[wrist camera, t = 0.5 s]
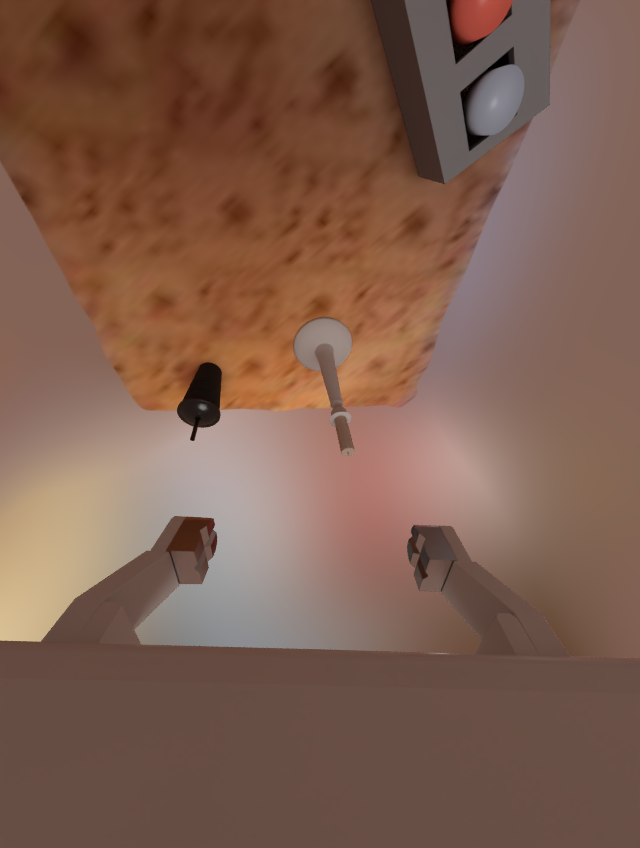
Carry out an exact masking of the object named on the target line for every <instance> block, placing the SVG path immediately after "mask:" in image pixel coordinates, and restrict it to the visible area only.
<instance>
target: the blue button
mask: <svg viewBox="0 0 640 848" xmlns="http://www.w3.org/2000/svg"><path fill="white" fill-rule="evenodd" d="M523 93H524V76H523V73H522V71H521V69H520V68H519V67H518V66H516V65H506V66H502V67H499V68H496V69H492V70H489V71H486V72H484V73H482V74H481V75H480V76H478V77H477V78H476V79H475V81H474V82H473V83H472V84H471V86H470V88H469V89H468V91H467V93H466V95H465V98H464V101H463V104H462V109H463V115H464V122H465V128H466V133H467V134H469V135H494V134H497V133H499V132H500V131H502V130H503V129H504V128H505V127H506V126H507V125H508V124H509V123H510V122H511V120H512V119H513V118H514V116H515V114H516V113H517V111H518V109H519V106H520V104H521V101H522V97H523Z"/></svg>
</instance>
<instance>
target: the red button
mask: <svg viewBox="0 0 640 848" xmlns="http://www.w3.org/2000/svg"><path fill="white" fill-rule="evenodd" d="M512 2H513V0H447V4H446V5H447V12H448V18H449V25H450V31H451V37H452V42H453V43H454V44H456V45H458V46H465V45H468V44H470V43H472V42H474V41H476V40H478V39H481V38H483V37H485V36H487V35H489V34H490V33H492V32H493V31H494V30H495V29H496V28H497V27H498V26H499V25H500V23H501V22H502V21H503V19H504V18H505V16H506V14H507V13H508V11H509V9H510V7H511V4H512Z"/></svg>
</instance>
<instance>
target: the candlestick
mask: <svg viewBox="0 0 640 848" xmlns="http://www.w3.org/2000/svg"><path fill="white" fill-rule="evenodd" d="M351 348H352V338H351V334H350V332H349V330H348V328H347V327H346V326H345V325H344V324H343V323H342V322H340V321H338V320H336V319H333V318H329V317H321V318H316V319H313V320H311V321H309V322H307V323H306V324H304V325H303V326H302V327H301V328H300V329H299V331H298V332H297V334H296V336H295V339H294V352H295V355H296V358H297V359H298V361H299V362H300V363H301V364H302V365H303V366H305V367H306V368H308V369H311V370H314V371H321V372H322V376H323V379H324V382H325V386H326V389H327V393H328V396H329V400H330V403H331V407H332V408H333V410H332V412H331V417H330V420H329V421H330V424H331V425H332V426H335V427H336V431H337V435H338V440H339V444H340V449H341V454H342V455H344V456H350V455H352V454H353V453H354V452H355V450H354V446H353V442H352V438H351V434H350V431H349V427H348V423H349V422H350V421H351V415H350V414H349V413H347V411H346V409H345V408H343V407H342V405H343V402H342V399H341V393H340V388H339V382H338V377H337V371H336V367H338V366H339V365H341V364H342V363H343V362H344V361H345V360H346V359H347V357H348V356H349V354H350V351H351Z"/></svg>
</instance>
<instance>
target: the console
mask: <svg viewBox="0 0 640 848" xmlns="http://www.w3.org/2000/svg"><path fill="white" fill-rule="evenodd" d="M371 2H372V5H373V9H374V13H375V16H376V20H377V24H378V28H379V31H380V35H381V39H382V42H383V46H384V50H385V53H386V57H387V61H388V64H389V68H390V72H391V75H392V79H393V83H394V87H395V90H396V94H397V98H398V101H399V105H400V109H401V112H402V116H403V120H404V123H405V127H406V131H407V134H408V138H409V142H410V145H411V149H412V153H413V157H414V160H415V164H416V168H417V171H418V175H419V177H422V178H425V179H429V180H432V181H436V182H439V183H443V184H446V183H447V182H448V181H450V180H451V179H452V178H453V177H455V176H456V175H457V174H459V173H460V172H461V171H463V170H464V169H465V168H467V167H468V166H469V165H471V164H472V163H473V162H475V161H476V160H477V159H479V158H480V157H481V156H483V155H484V154H485V153H487V152H488V151H489V150H491V149H492V148H493V147H495V146H496V145H497V144H498V143H500V142H501V141H502V140H504V139H505V138H506V137H508V136H509V135H510V134H512V133H513V132H514V131H516V130H517V129H518V128H520V127H521V126H522V125H524V124H525V123H526V122H528V121H529V120H530V119H532V118H533V117H534V116H536V115H537V114H538V113H539V112H541V111H542V110H544V109H545V108H546V107H547V106H549V105H550V104H549V101H550V100H549V99H550V2H551V0H513V2H512V4H511V7H510V9H509V11H508V13H507V14H506V16H505V18H504V19H503V21H502V22H501V23H500V25H499V26H498V27H497V28H496V29H495V30H494V31H493V32H492V33H490V34H489V35H487V36H485V37H484V38H483V39H482V40H480V41H479V42H478V43H477V44H476V45H475V46H474V47H473V48H471V49H470V50H469V51H468V52H467V53H466V54H465V55H464V56H463V57H461V58H460V59H459V60H458V61H457V62H456V63H455V57H454V50H453V44H452V37H451V31H450V25H449V18H448V12H447V5H446V0H371ZM492 64H493V69H496V68H499V67H502V66H506V65H516V66H518V67H519V68H520V69H521V71H522V73H523V76H524V93H523V97H522V101H521V104H520V106H519V109H518V111H517V113H516V114H515V116H514V118H513V119H512V120H511V122H510V123H509V124H508V125H507V126H506V127H505V128H504V129H503V130H502V131H500V132H499V133H497V134H494V135H469V134H467V133H466V128H465V122H464V115H463V109H462V102H461V96H460V92H461V91H462V90H463V89H464V88H465V87H467V86H468V85H469V84H470V83H471V82H472V81H474V80H475V79H476V78H477V77H478V76H479V75H481V74H482V73H483V72H484V71H485V70H486V69H488V68H489V67H490V66H491V65H492Z"/></svg>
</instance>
